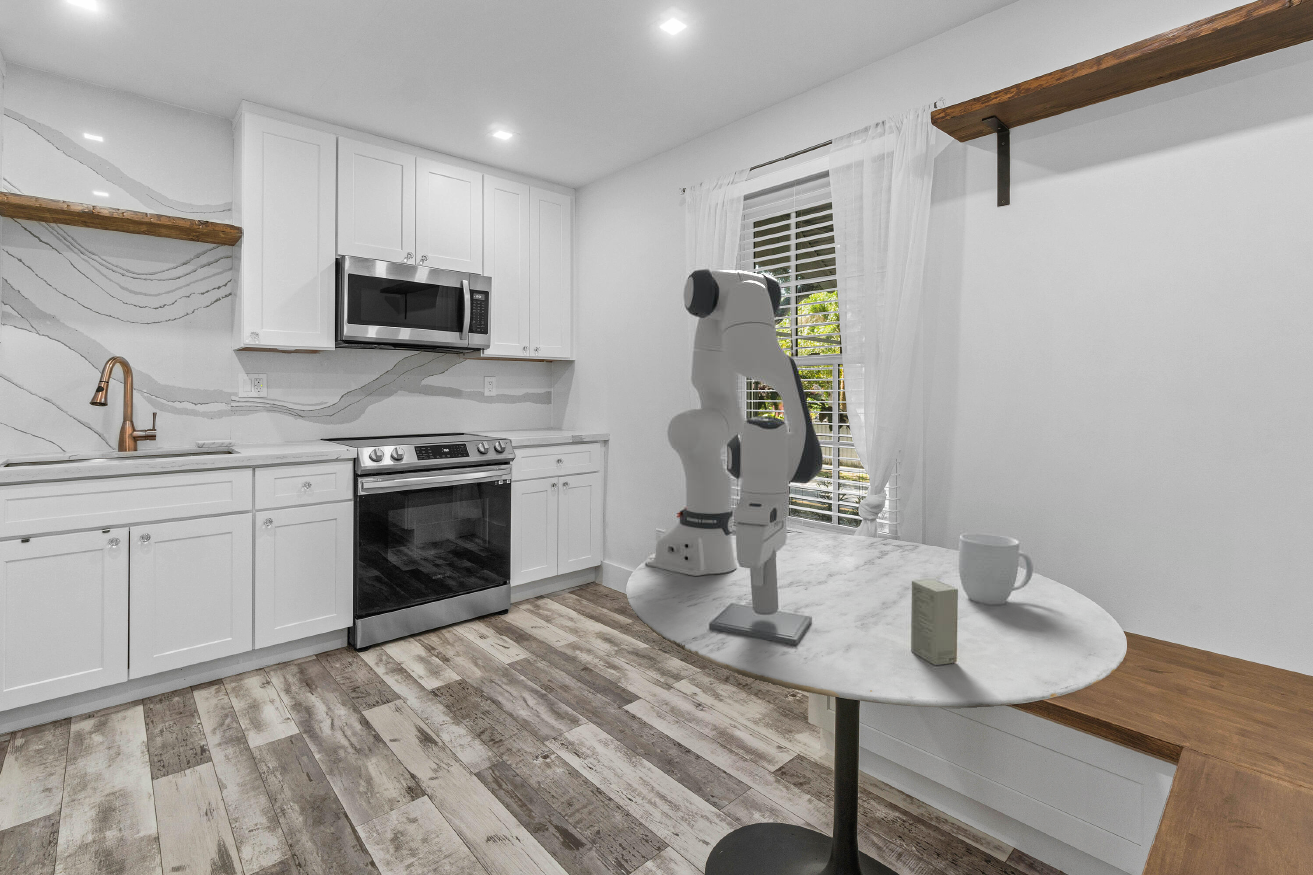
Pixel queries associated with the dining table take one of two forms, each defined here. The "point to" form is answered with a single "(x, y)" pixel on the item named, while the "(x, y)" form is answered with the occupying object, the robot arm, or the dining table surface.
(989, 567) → the mug
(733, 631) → the slate coaster
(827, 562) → the dining table surface
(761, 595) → the beverage can
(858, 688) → the dining table surface
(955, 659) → the skincare box
